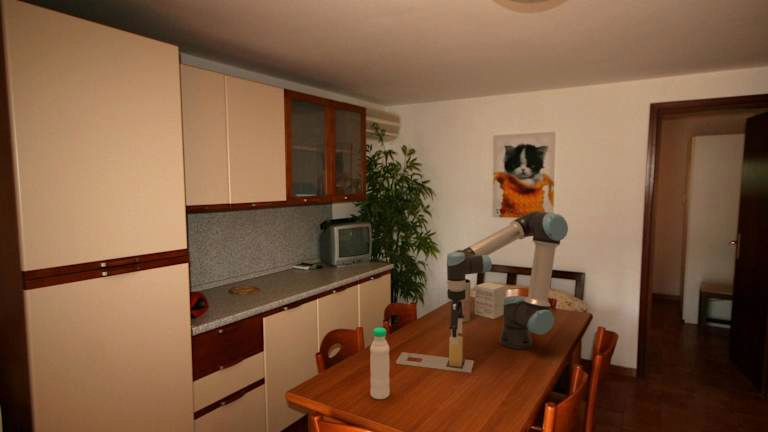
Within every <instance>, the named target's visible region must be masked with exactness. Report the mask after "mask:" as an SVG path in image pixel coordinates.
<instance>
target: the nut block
mask: <svg viewBox="0 0 768 432" xmlns="http://www.w3.org/2000/svg"><path fill="white" fill-rule="evenodd" d="M463 338H464V337H463V336H460V335H458V345H454V344H451V336H450V337H449V342H448V346H449V347H448V353H449V354H448V358H449V363H448V364H449V366H457V367H462V363H463V359H464V358H463V351H464V350H463V347H464V346H463V345H464V344H463V343H464V342H463V341H464V340H463Z"/></svg>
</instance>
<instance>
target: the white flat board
mask: <svg viewBox="0 0 768 432" xmlns="http://www.w3.org/2000/svg"><path fill="white" fill-rule="evenodd" d="M409 358H414V359H415V358H416V359H422V360H421V361H412V360H408V359H409ZM395 362H396V363H395V364H397V365H405V366H413V367H421V368H430V369H435V370H446V371H452V372H453V371H454V372H460V373H461V372H462V373H469V374H471V373H472V370H473V367H474V363H475V361H474V360H473V359H466V358H465V359H464V358H463V363H462V367H457V366H449V356H448V357H446V356H436V355H428V354H421V353H411V352H400V355H399V356H398V358H397V359H396V361H395Z"/></svg>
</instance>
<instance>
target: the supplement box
mask: <svg viewBox="0 0 768 432" xmlns="http://www.w3.org/2000/svg"><path fill="white" fill-rule="evenodd" d="M506 291H507V286H506V285H505V284H499V283H494V282H488V281H487V282H484V283H480V284H476V285H474V315H475V316H476V315H477V316H481V317H483V318H487V319H493V320H495V319H496V318H500V317H502V316H504V306H503V304H504V299H505V298H506V297H507V295H506V294H507V292H506Z"/></svg>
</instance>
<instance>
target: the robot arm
mask: <svg viewBox="0 0 768 432" xmlns="http://www.w3.org/2000/svg"><path fill="white" fill-rule="evenodd" d="M568 231H569V225H568V223H567V221H566V219H565V217H564V216H562V215H561V214H558V213H554V212H545V211H544V212H543V211H532V212H531V211H530V212H528V213H526V214H524V215H521V216H518V217H517V218H516V219H514V220H512V221H510V223H509V225H507V226H506V227H503V228H501V229H500V230H498V231H495V232H494V233H492V234H489V235H488V236H487V237H485V238H482V239H481V240H479V241H476V242H474V244H472V245H469V246H467V247H466V248H464V249H456V250H453V251H452V252H449V253H448V254H447V256H446V275H447V277H446V279H447V280H445V283H446V284H447V286H446V287H447V291H446V292H447V298H448V300H453V302H451V304H450V309H451V311H450V326H449V328H448V329H449V330H450V337H451V344H454V345H458V336H459V334H463V322H462V318H464V315H463V311H462V300H464V299H465V298H466V293H465V288H466V282H465V279H466V275H474V274H485V273H488V272H490V271H491V269H492V266H493V265H492V259H491V258H490V256H489V255H491V254H493V253H495V252H496V251H498V250H500V249H502V248H504V247H506V246H508V245H509V244H512V243H513V242H515V241H517V240H523V239H525V238H529V237H532V242H533V243H534V246H535V247H534V252H533V259H532V267H531V274H530V279H529V286H528V287H529V288H528V293H527V296H523V295H511V296H506V298H505V299H504V304H503V306H504V315H503V320H502V321H503V327H502V330H501V333H500V334H499V339H498V340H499V342H498V344H500V345H501V346H503V347H505V348H507V349H512V350H527V349H529V348H530V349H531V348H532V346H533V339H532V336H531V333H533V334H536V335H544V334H547V333H548V332H549V331H550V330H551V329H552V328H553V326H554V323H555V316H554V315H553V313H552V312H551V304H550V302H549V293H550V287H551V282H552V281H551V280H552V274H553V267H554V262H555V254H556V249H557V247H559V246H560V245H561V241H562V240H563V239H565V237H567V234H568ZM530 332H531V333H530Z"/></svg>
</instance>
